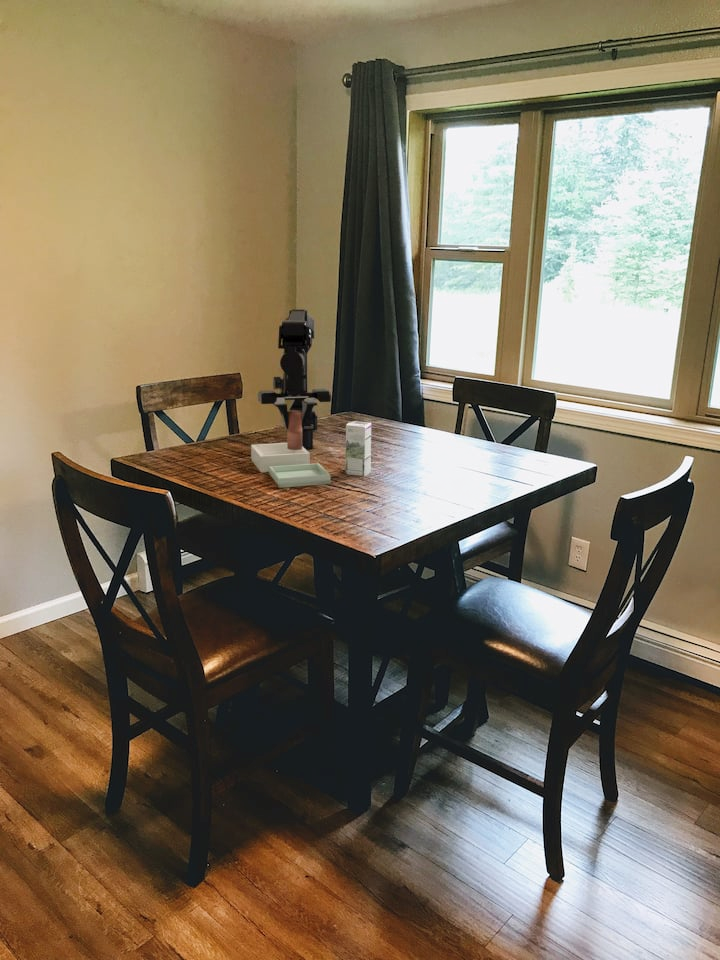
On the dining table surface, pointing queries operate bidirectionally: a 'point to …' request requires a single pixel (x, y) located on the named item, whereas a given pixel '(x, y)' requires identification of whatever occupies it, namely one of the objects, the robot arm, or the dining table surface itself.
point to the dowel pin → (294, 430)
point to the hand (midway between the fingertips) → (294, 428)
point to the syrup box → (358, 448)
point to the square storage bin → (277, 456)
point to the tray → (299, 475)
